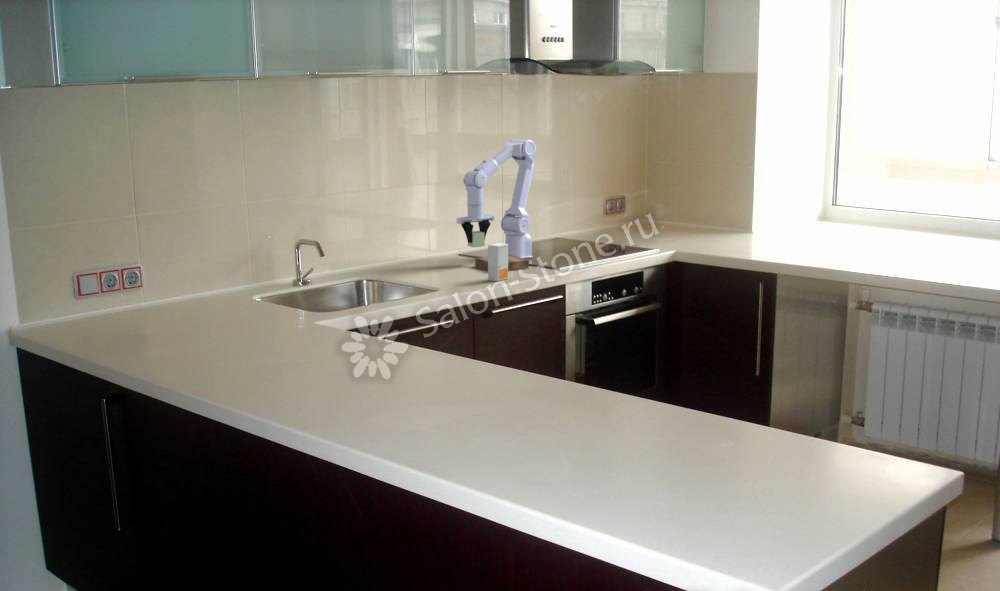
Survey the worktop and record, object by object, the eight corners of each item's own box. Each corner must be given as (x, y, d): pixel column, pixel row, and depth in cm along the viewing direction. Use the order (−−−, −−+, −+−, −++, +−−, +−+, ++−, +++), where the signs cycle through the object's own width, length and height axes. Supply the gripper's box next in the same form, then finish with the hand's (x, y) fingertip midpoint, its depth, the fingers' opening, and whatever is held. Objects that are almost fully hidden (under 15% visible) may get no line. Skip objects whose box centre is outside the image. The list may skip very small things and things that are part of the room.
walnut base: (508, 262, 366) (508, 254, 365) (528, 268, 354) (528, 260, 353) (475, 266, 359) (475, 258, 358) (494, 272, 347) (494, 264, 346)
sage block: (478, 244, 363) (478, 230, 362) (484, 246, 359) (484, 232, 358) (467, 245, 361) (467, 232, 360) (473, 247, 357) (473, 233, 356)
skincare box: (497, 281, 332) (497, 246, 329) (487, 280, 334) (487, 245, 331) (508, 278, 336) (508, 243, 334) (498, 277, 339) (498, 242, 336)
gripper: (462, 207, 350) (463, 245, 353) (498, 204, 357) (499, 241, 360) (453, 205, 356) (454, 242, 359) (488, 202, 363) (489, 239, 366)
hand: (476, 242), depth 360 cm, fingers closed on sage block, 4 cm apart
